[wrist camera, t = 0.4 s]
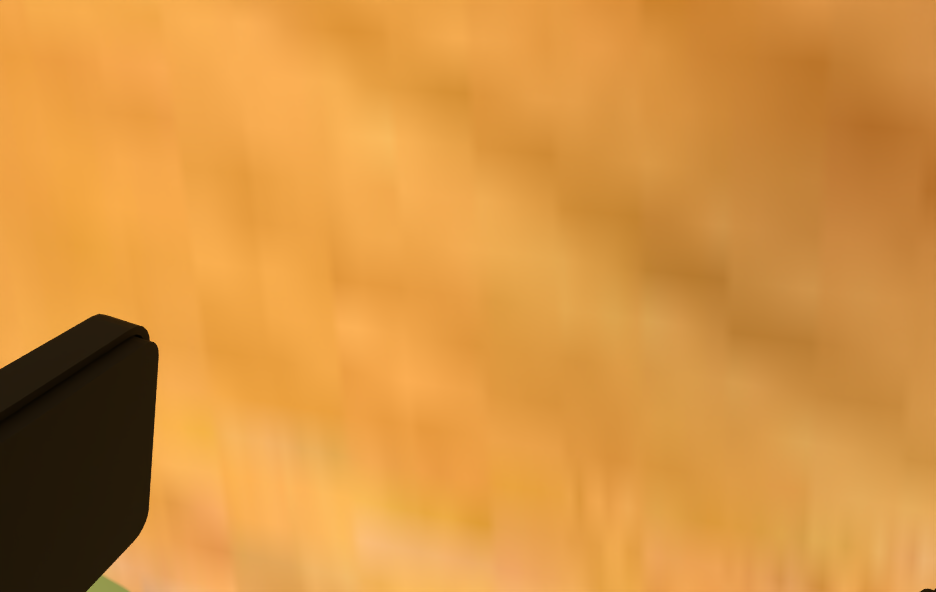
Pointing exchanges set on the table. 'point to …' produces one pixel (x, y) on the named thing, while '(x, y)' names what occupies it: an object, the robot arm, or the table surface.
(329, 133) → the table surface
